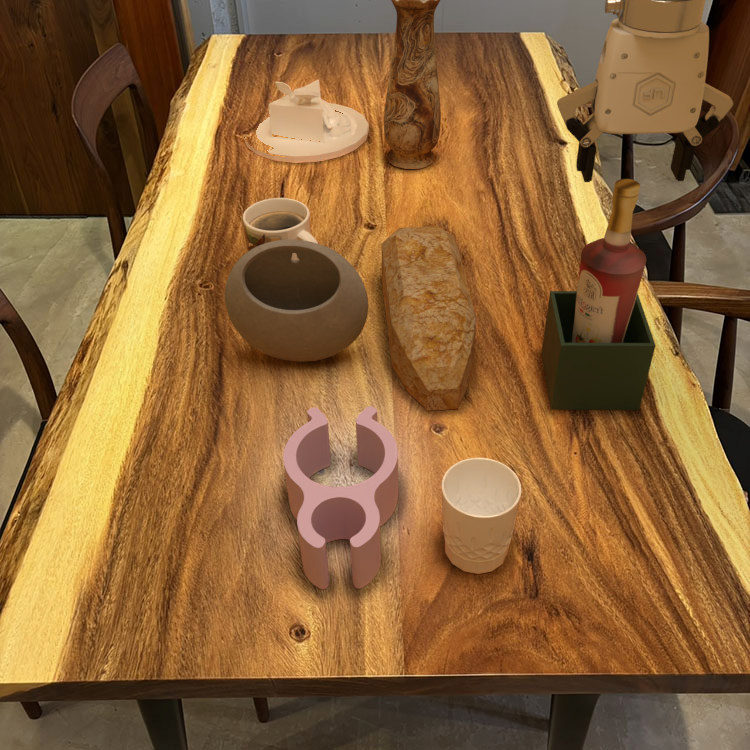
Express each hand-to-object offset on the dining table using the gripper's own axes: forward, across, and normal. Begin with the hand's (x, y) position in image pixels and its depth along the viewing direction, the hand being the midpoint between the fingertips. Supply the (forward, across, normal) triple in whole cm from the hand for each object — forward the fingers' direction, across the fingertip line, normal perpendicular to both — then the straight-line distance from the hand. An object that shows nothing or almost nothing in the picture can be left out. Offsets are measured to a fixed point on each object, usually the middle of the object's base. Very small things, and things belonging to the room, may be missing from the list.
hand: (631, 175), depth 90 cm
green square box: (+30, -1, 0) cm, 30 cm away
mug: (+29, -43, +23) cm, 57 cm away
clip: (+30, -31, -22) cm, 49 cm away
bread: (+30, -22, +13) cm, 39 cm away
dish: (+29, -45, +74) cm, 92 cm away
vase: (+29, -24, +64) cm, 74 cm away
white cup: (+30, -17, -27) cm, 43 cm away
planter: (+29, -39, +4) cm, 49 cm away
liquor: (+29, 0, 0) cm, 29 cm away
